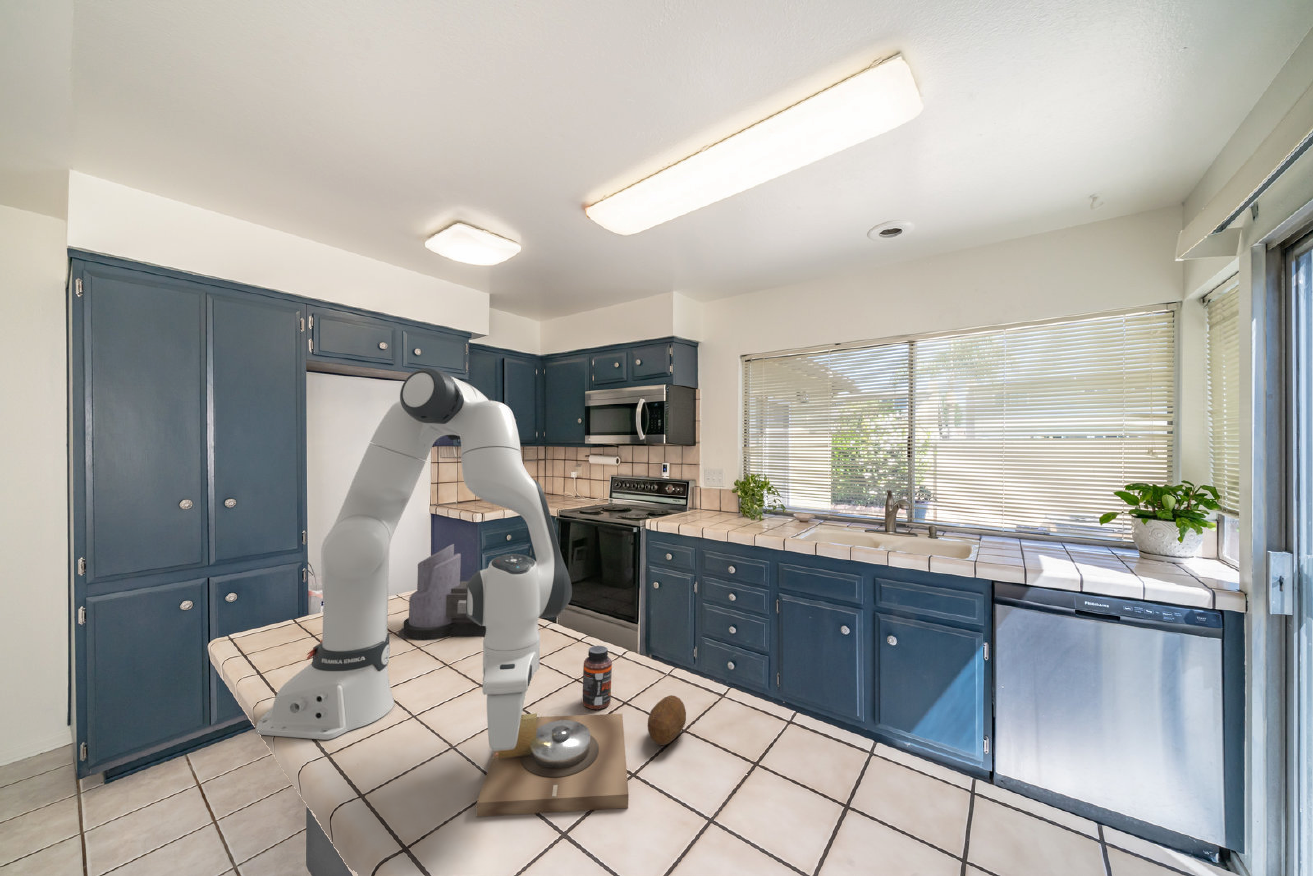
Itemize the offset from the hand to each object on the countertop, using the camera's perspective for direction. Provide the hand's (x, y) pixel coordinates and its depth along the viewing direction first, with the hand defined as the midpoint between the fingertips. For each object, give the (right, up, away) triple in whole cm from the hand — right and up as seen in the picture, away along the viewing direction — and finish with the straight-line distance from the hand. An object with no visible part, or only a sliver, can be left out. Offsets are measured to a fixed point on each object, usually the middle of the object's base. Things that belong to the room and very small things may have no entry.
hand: (510, 746), depth 79 cm
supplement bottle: (+11, -6, +24) cm, 27 cm away
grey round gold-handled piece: (+5, -3, +4) cm, 7 cm away
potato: (+25, -7, +12) cm, 29 cm away
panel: (+7, -6, +4) cm, 10 cm away
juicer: (-35, -6, +62) cm, 72 cm away
